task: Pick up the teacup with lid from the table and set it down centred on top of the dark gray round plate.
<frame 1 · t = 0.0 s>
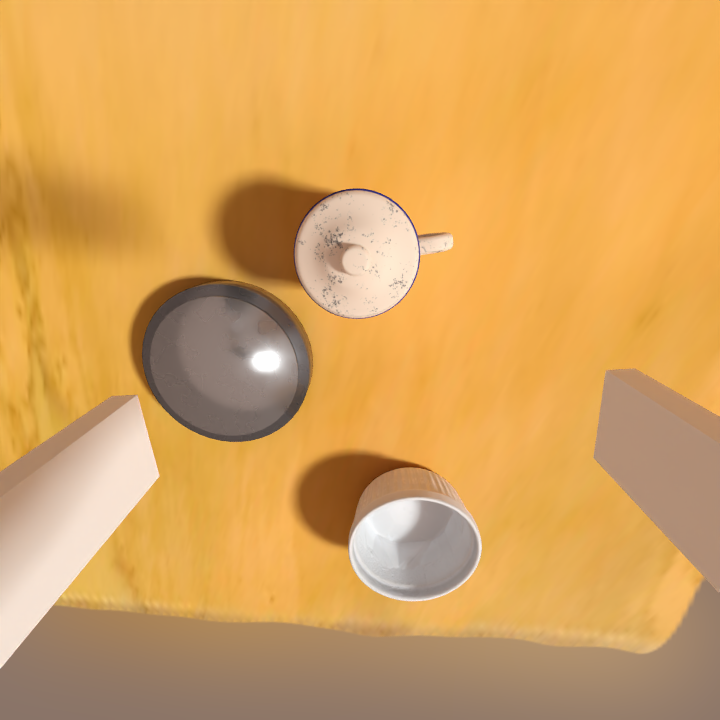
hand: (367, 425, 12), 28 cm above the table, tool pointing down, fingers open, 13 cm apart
ramekin: (408, 504, 47), on the table
teacup with lid: (375, 246, 37), on the table
dark gray round plate: (234, 359, 41), on the table
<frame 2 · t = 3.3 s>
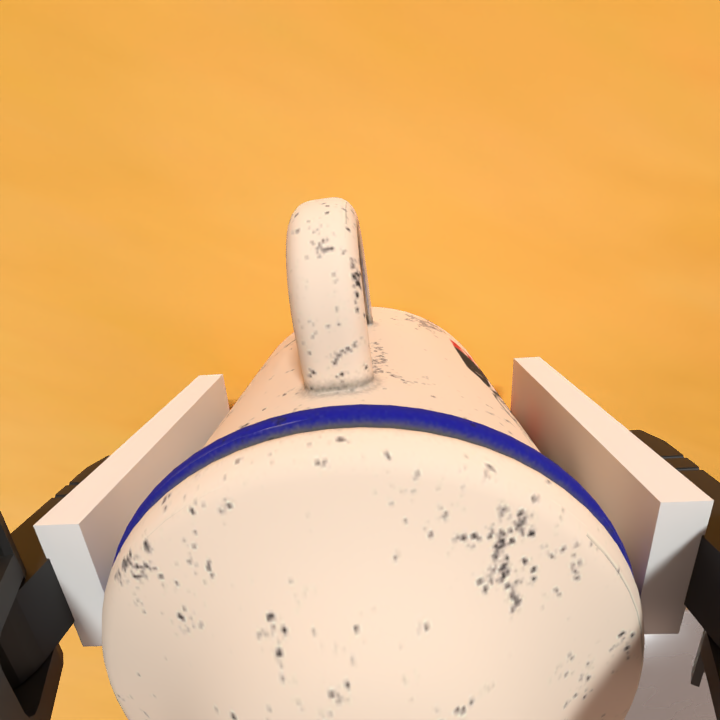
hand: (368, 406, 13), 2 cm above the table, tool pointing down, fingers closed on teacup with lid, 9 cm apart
teacup with lid: (365, 380, 15), on the table, touching gripper
dark gray round plate: (596, 663, 19), on the table
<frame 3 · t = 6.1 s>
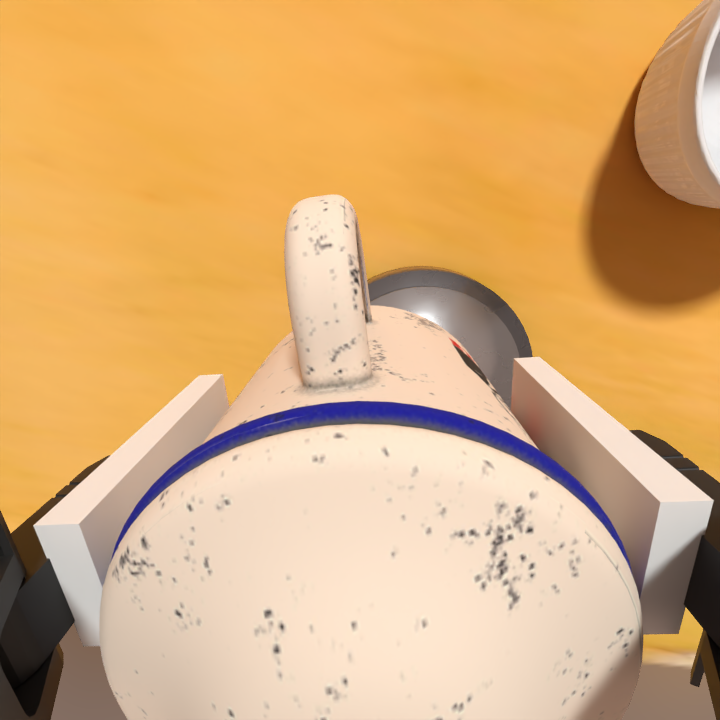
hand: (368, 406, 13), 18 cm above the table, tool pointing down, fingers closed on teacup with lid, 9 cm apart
ramekin: (718, 106, 25), on the table
teacup with lid: (364, 378, 15), point 16 cm above the table, touching gripper
dark gray round plate: (416, 371, 31), on the table
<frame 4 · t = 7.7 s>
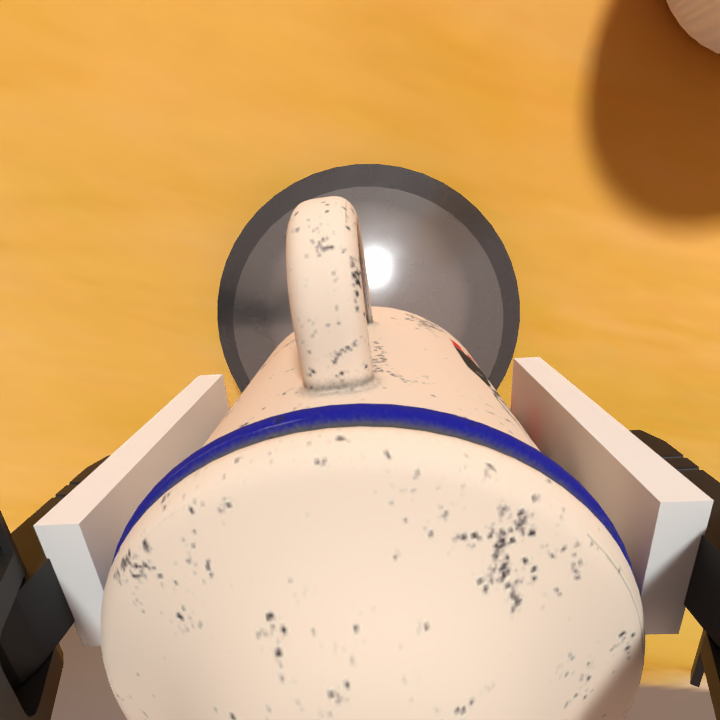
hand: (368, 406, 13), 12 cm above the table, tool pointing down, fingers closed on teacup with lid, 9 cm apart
teacup with lid: (365, 379, 15), point 10 cm above the table, touching gripper
dark gray round plate: (367, 318, 24), on the table
when the fingers open (6 cm above the table, at t = 9.1 s): teacup with lid drops 1 cm, resting on dark gray round plate.
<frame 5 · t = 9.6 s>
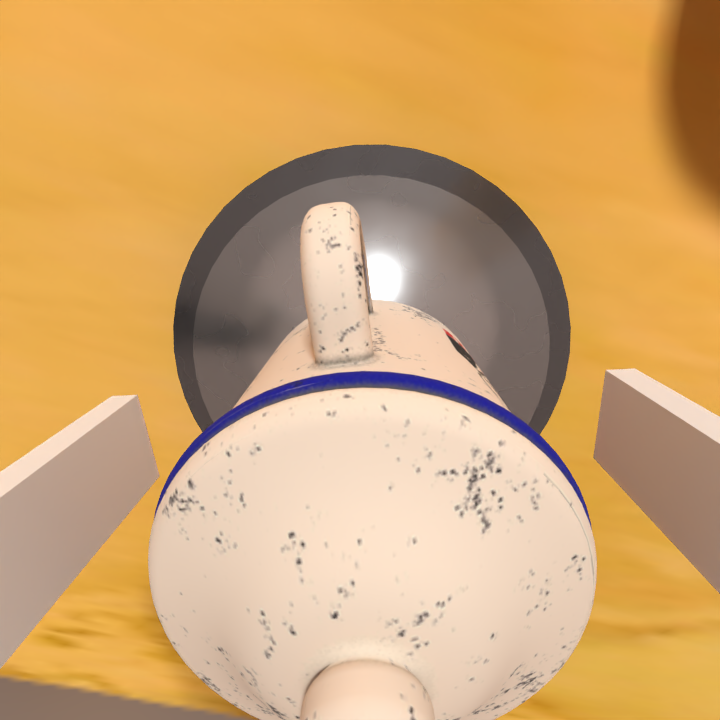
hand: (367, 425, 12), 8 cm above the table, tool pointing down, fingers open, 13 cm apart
teacup with lid: (366, 367, 16), point 3 cm above the table, touching dark gray round plate
dark gray round plate: (369, 345, 19), on the table
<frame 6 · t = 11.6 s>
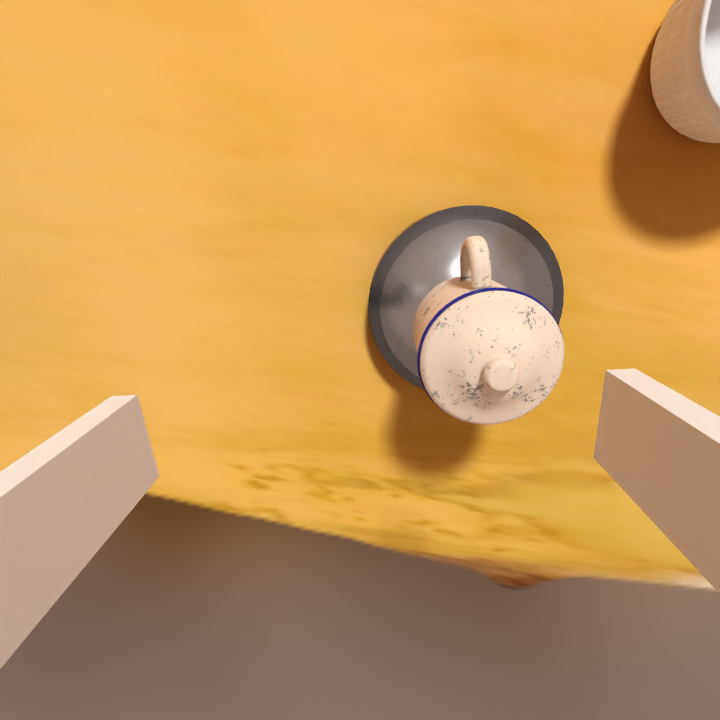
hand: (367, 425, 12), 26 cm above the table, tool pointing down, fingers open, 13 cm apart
teacup with lid: (463, 309, 33), point 3 cm above the table, touching dark gray round plate
dark gray round plate: (458, 302, 36), on the table
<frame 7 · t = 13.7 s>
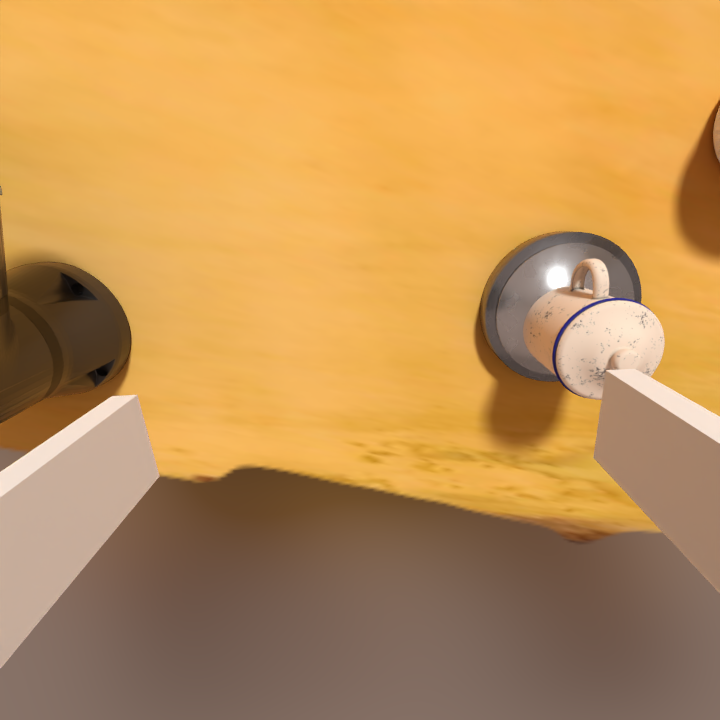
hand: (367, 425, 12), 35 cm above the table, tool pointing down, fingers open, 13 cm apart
teacup with lid: (562, 312, 42), point 3 cm above the table, touching dark gray round plate
dark gray round plate: (552, 306, 45), on the table
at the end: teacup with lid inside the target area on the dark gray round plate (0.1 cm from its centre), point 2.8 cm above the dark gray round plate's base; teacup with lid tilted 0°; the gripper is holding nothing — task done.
